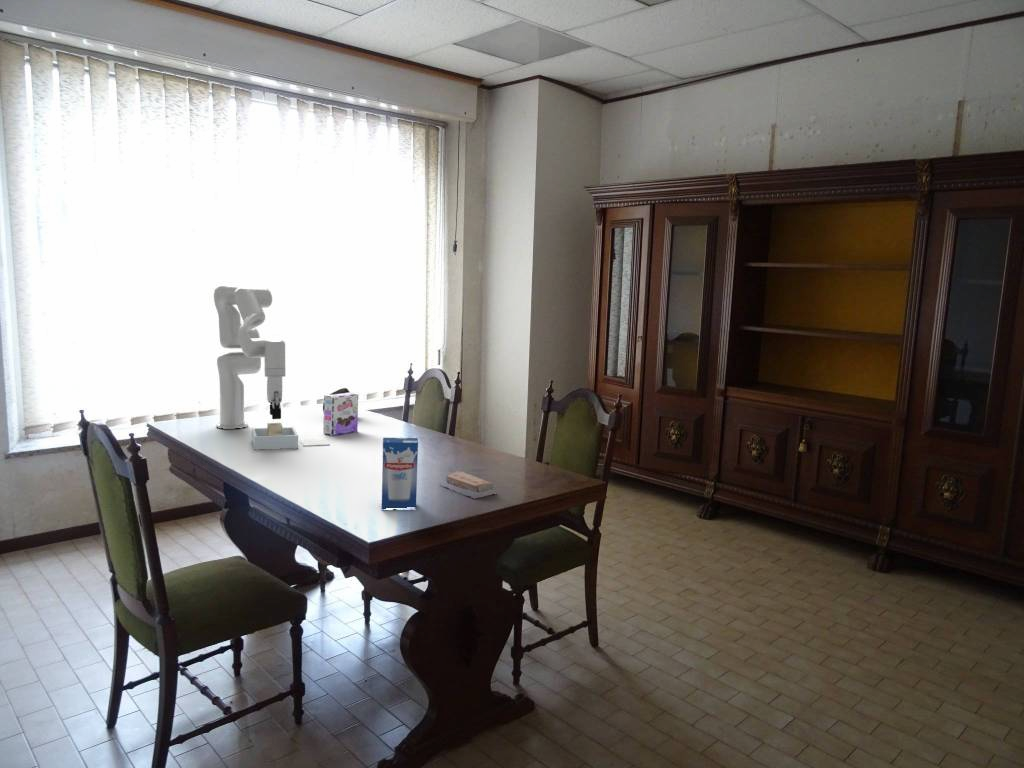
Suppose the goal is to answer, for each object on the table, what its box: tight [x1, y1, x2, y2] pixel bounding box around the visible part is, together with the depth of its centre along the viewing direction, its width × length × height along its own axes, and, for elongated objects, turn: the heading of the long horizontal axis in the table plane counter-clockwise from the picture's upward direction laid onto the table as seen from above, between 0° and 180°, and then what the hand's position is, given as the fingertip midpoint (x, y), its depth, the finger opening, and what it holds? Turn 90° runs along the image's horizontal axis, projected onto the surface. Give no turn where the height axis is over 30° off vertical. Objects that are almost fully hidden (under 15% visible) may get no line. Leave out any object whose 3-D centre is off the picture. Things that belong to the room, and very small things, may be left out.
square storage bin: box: [251, 426, 299, 451], centre depth 284 cm, size 16×16×5 cm
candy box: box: [323, 392, 359, 437], centre depth 309 cm, size 14×6×16 cm, turn 143°
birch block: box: [266, 422, 283, 436], centre depth 283 cm, size 5×5×6 cm
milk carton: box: [381, 437, 419, 510], centre depth 214 cm, size 10×6×20 cm, turn 99°
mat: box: [299, 438, 330, 447], centre depth 290 cm, size 10×10×1 cm
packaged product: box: [445, 470, 494, 493], centre depth 236 cm, size 18×5×10 cm
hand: (275, 416), depth 282 cm, fingers open, 9 cm apart
